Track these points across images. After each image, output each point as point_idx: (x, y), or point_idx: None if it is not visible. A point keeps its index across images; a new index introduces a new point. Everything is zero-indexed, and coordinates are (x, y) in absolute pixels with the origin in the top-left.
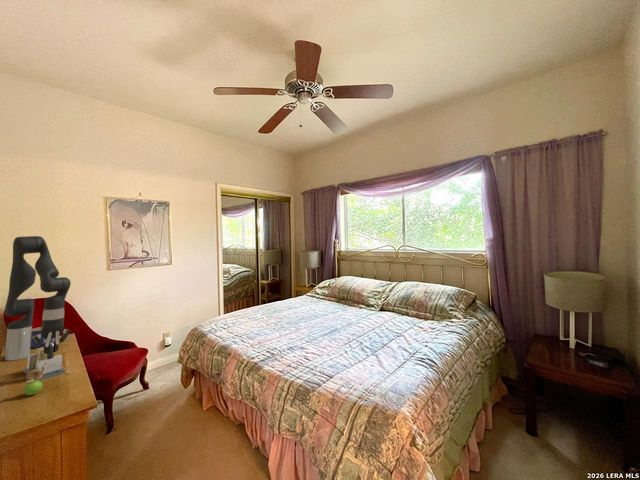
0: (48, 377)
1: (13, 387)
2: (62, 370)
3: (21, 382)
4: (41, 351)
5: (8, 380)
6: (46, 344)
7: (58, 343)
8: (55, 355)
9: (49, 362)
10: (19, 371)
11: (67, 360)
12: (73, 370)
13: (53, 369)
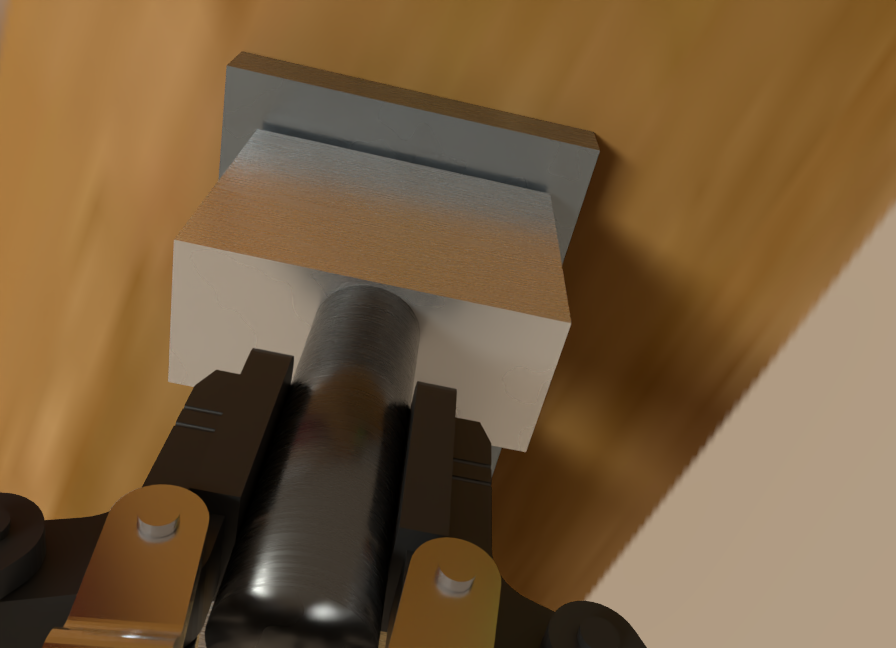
0: (449, 101)
1: (806, 207)
2: (262, 75)
3: (663, 286)
4: (384, 635)
5: (650, 482)
6: (468, 612)
7: (140, 499)
8: None
9: (409, 248)
10: None
11: (36, 488)
12: (125, 10)
13: (360, 166)
